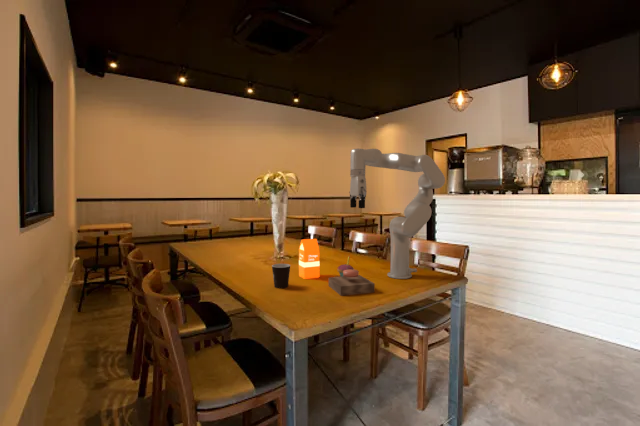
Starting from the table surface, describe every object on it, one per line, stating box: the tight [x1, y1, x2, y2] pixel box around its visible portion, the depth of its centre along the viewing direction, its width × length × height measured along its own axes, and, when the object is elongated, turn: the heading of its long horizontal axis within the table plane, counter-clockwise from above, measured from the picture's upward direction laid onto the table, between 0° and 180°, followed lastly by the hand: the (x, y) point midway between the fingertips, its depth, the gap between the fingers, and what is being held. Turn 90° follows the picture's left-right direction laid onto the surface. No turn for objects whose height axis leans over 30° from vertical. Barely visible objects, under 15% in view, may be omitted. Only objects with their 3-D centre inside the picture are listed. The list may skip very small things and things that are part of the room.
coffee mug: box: [271, 263, 291, 289], centre depth 155 cm, size 12×9×10 cm
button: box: [343, 269, 359, 277], centre depth 149 cm, size 7×7×2 cm
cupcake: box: [336, 255, 355, 277], centre depth 169 cm, size 9×8×12 cm
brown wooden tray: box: [328, 274, 376, 296], centre depth 149 cm, size 16×16×4 cm
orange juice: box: [298, 238, 321, 280], centre depth 172 cm, size 8×9×20 cm
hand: (357, 207), depth 164 cm, fingers open, 9 cm apart
